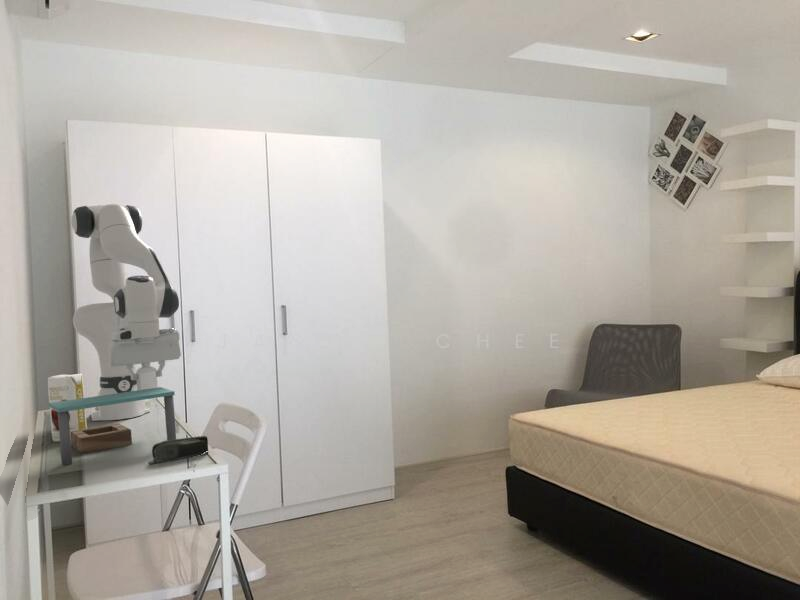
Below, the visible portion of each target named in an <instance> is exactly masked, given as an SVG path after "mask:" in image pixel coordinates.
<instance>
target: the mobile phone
mask: <svg viewBox="0 0 800 600" xmlns="http://www.w3.org/2000/svg"><path fill="white" fill-rule="evenodd" d="M208 439H209V438H208V437H207V436H206V435H200V436H193V437H184V438H176V439H174V440H167V439H166V440H164V441H160V442H158V443H155V444H154V445H153V446H152V450H151V454H152V457H153V460H152V461H148V462H147V463H148V465H154V464H160V463H164V462H171V461H176V460H182V459H189V458H193V456H195V457H199V456H198V455H200V456H202V455H201V454H203V453H204V452H206V451H208V452H209V443H208V441H209V440H208ZM188 457H189V458H188Z"/></svg>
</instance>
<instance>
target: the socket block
mask: <svg viewBox="0 0 800 600" xmlns="http://www.w3.org/2000/svg"><path fill="white" fill-rule="evenodd" d="M70 432H71V447H73V448H74V449H76V450H77V451H78V452H80V453H81V454H86V453H90V452H96V451H97V452H98V451H102V450H107V449H111V448H116V447H117V448H118V447H122V446H123V447H124V446H128V445H133V439H132V438H133V437H132V429H130V428H129V427H126V426H125V425H123V424H121V423H118V422H117V423H114V424H113V423H112V424H106V425H100V426H94V427H87V429H81V430H75V431H70Z"/></svg>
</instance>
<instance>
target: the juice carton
mask: <svg viewBox="0 0 800 600" xmlns="http://www.w3.org/2000/svg"><path fill="white" fill-rule="evenodd" d="M84 385H85V384H84V377H83V373H74V374H57V375H52V376H49V377H47V390H48V391H47V392H48V393H47V394H48V404H49V403H53V402H60V401H67V400H74V399H81V398H86V397H85V387H84ZM86 409H87V408H86ZM86 409H79V410H73V411H68V414H69V427H70V431H75V430H81V429H87V428H88V425H87V412H86V411H87V410H86ZM49 417H50V420H49V421H50V430H51V437H52V441H53V442H54V443H55V442H56V443H58V442H59V443H60V436H59V423H58V412H57V411H55V410H53V409H52V408H50V407H49ZM70 440H71V432H70Z"/></svg>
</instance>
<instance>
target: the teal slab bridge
mask: <svg viewBox="0 0 800 600" xmlns="http://www.w3.org/2000/svg"><path fill="white" fill-rule="evenodd" d="M174 396H175V391H174V390H171V389H168V388H165V387H162V386H161V387H160V386H158V388H151V389H144V390H137V391H130V392H123V393H116V394H109V395H102V396H98V395H96V396H90V397H89V396H88V397H85V398H81V399H74V400H67V401H60V402H53V403H49V402H48V405H49V407H48V408H49V409H50V408H52V409H53V410H55V411H57V412H58V423H59V436H60V442H59V446H60V447H59V448H60V460H61V466H63V465H65V466H69V465H70V466H71V465H72V464H73V456H72V455H73V454H72V445H71V440H70V427H69V414H68V411H73V410H79V409H91V408H96V407H99V406H105V405H112V404H119V403H125V402H132V401H138V400H144V401H145V400H151V399H158V398H163V401H164V402H163V403H164V416H165V430H166V431H165V432H166V441H167V440H174V439H177V430H176V420H175V419H176V418H175V404H174V403H175V402H174Z"/></svg>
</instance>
